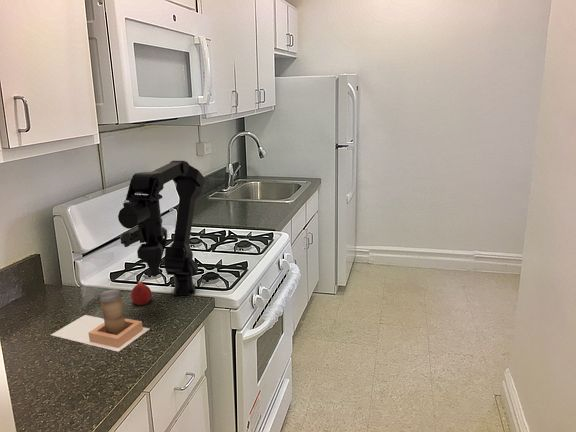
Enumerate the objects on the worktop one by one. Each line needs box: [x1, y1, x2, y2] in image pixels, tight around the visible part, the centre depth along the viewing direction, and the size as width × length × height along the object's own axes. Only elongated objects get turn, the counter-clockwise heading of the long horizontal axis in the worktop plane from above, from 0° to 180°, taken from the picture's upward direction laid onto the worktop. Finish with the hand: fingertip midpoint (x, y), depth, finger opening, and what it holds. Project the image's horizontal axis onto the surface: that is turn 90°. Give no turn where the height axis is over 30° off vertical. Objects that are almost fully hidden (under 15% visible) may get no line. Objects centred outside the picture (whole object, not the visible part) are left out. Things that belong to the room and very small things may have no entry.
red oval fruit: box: [130, 280, 152, 306], centre depth 147 cm, size 6×6×8 cm
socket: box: [88, 317, 144, 348], centre depth 128 cm, size 9×9×2 cm
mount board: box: [50, 314, 150, 353], centre depth 131 cm, size 23×12×1 cm, turn 66°
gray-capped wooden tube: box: [99, 288, 126, 335], centre depth 127 cm, size 5×5×12 cm
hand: (156, 270), depth 140 cm, fingers open, 9 cm apart
